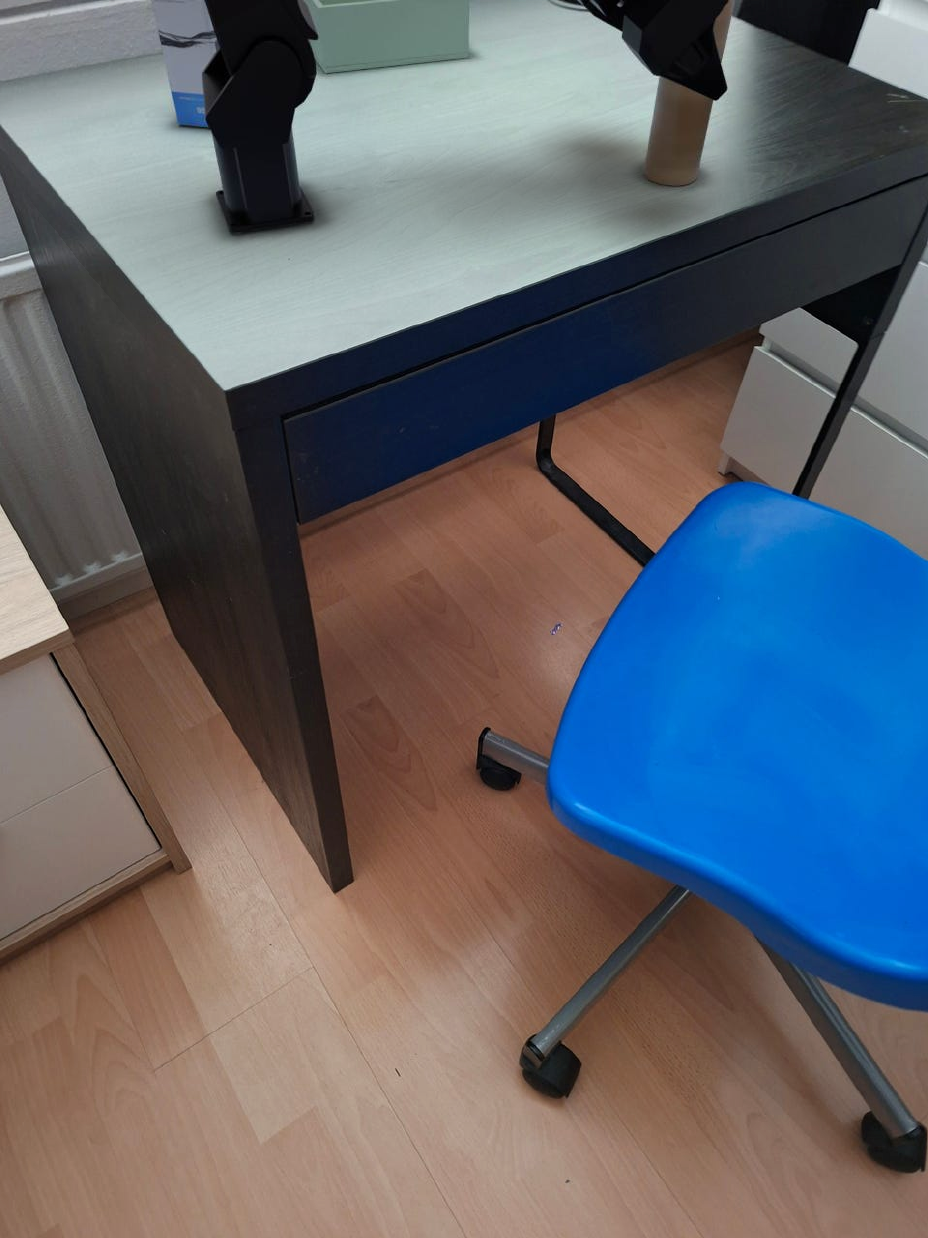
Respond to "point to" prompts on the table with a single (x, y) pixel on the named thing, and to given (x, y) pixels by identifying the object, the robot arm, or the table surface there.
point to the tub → (388, 32)
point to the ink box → (186, 53)
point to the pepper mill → (681, 123)
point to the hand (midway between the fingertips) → (696, 72)
